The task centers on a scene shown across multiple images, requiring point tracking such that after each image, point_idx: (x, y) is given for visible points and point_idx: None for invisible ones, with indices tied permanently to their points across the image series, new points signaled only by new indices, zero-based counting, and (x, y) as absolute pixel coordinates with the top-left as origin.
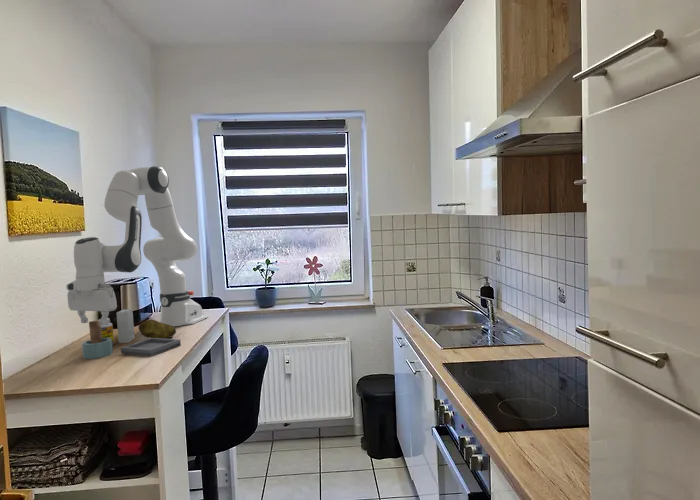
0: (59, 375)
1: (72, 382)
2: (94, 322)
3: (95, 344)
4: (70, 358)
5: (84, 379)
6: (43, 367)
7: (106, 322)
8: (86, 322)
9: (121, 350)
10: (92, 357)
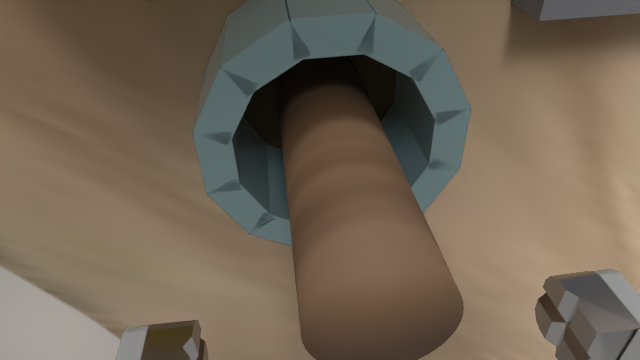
0: None
1: None
2: (435, 347)
3: (422, 211)
4: (186, 203)
5: None
6: (230, 325)
7: (613, 279)
8: (197, 334)
9: (530, 13)
10: None
